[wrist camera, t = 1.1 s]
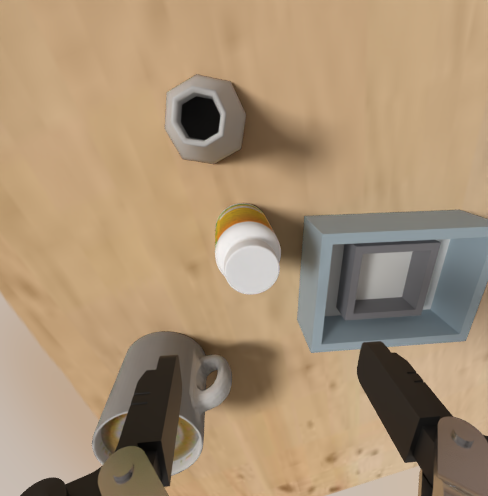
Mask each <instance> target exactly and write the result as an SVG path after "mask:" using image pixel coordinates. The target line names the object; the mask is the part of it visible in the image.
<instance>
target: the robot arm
mask: <svg viewBox="0 0 488 496" xmlns="http://www.w3.org/2000/svg"><path fill="white" fill-rule="evenodd" d="M357 375H358V379H359V382H360V384H361V386H362V388H363V389H364V391H365V393H366V395H367V396H368V398H369V400H370V402H371V404H372V405H373V407H374V409H375V411H376V412H377V414H378V416H379V418H380V420H381V421H382V423H383V425H384V427H385V428H386V430H387V432H388V434H389V435H390V437H391V439H392V441H393V443H394V444H395V446H396V448H397V450H398V451H399V453H400V455H401V457H402V459H403V460H404V462H405V463H407V462H417V463H418V465H419V466H420V468H421V470H420V474H419V489H418V496H488V436H485V435H482V433H481V432H480V431H479V430H478V429H476V428H475V427H474V426H472V425H471V424H470V423H468V422H466V421H464V420H462V419H459V418H456V417H453V416H452V415H451V414H450V412H449V411H448V410H447V409H446V407H445V406H444V405H443V404H442V403H441V401H440V400H439V399H438V398H437V397H436V395H435V394H434V393H433V392H432V390H431V389H430V388H429V387H428V386H427V384H426V383H425V382H423V380H422V378H421V377H420V376H419V375H418V374H416V371H415V370H414V369H413V367H412V366H411V365H410V364H409V363H408V361H406V360H405V359H404V358H402V357H401V356H400V355H398V354H397V353H391V352H390V351H389V349H388V348H387V347H386V345H385V344H384V343H383V342H381V341H374V342H363V343H362V345H361V350H360V355H359V361H358V366H357ZM181 398H182V378H181V370H180V362H179V356H178V355H166V356H160V357H159V360H158V364H157V368H156V370H146V371H145V373H144V374H143V375H142V376H141V378H140V379H139V380H138V382H137V385H136V388H135V392H134V396H133V398H132V401H131V406H130V407H129V410H128V413H127V417H126V420H125V423H124V426H123V429H122V432H121V435H120V439H119V442H118V445H117V447H116V450H115V451H114V453H113V454H112V455H111V456H110V457H109V458H108V459H107V460H106V461H105V462H104V464H103V466H102V467H100V468H99V469H98V470H96V471H95V472H93V473H91V474H89V475H86V476H84V477H82V478H79V479H77V480H75V481H72V482H70V483H68V484H65V483H64V482H63V481H62V480H61V479H59V478H47V479H43V480H41V481H39V482H37V483H35V484H34V485H32V486H31V487H29V488H28V489H27V490H26V491H24V492H23V493H22V494H21V495H20V496H169V495H168V494H167V492H166V490H165V488H164V487H167V486H170V480H171V473H172V465H173V458H174V450H175V443H176V436H177V428H178V421H179V413H180V406H181Z"/></svg>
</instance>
